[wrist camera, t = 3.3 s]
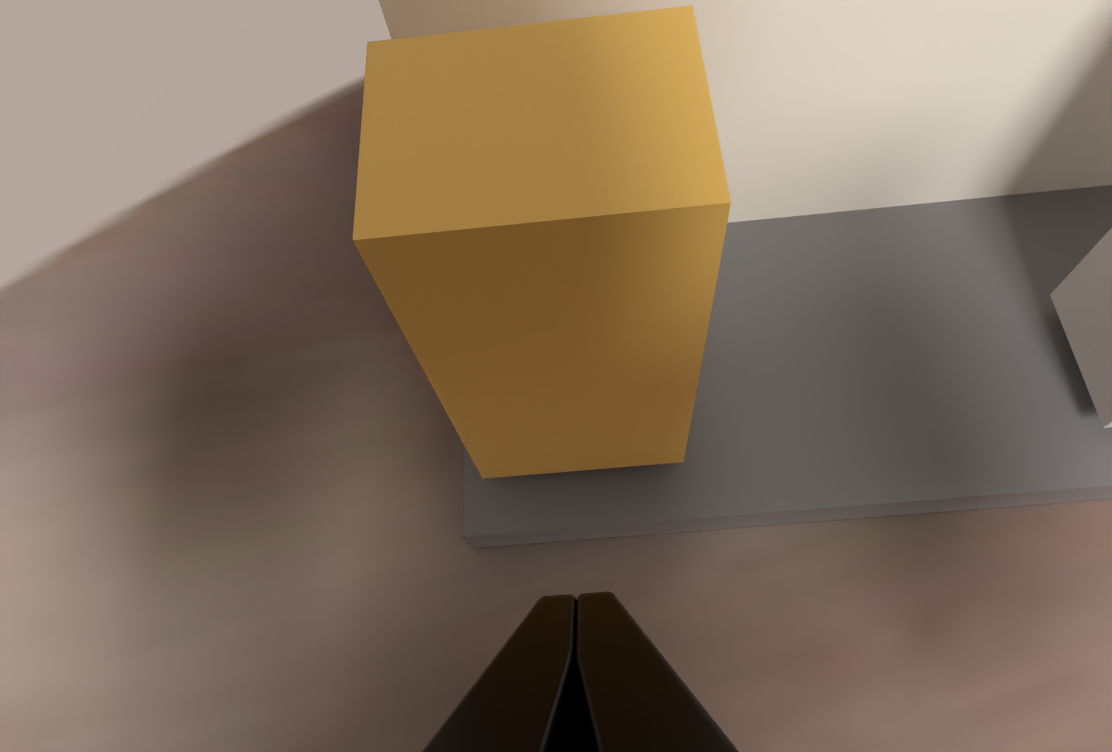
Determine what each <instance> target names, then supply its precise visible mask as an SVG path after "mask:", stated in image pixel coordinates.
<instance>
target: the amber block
mask: <svg viewBox="0 0 1112 752" xmlns="http://www.w3.org/2000/svg"><path fill="white" fill-rule="evenodd" d="M730 206H731V200H730V195H729V190H728V185H727V180H726V174H725V169H724V164H723V159H722V154H721V149H720V144H719V139H718V134H717V129H716V123H715V118H714V113H713V108H712V103H711V98H710V93H709V88H708V83H707V78H706V73H705V67H704V62H703V57H702V52H701V47H700V42H699V37H698V32H697V27H696V22H695V17H694V11H693V6H692V5H690V6H681V7H672V8H664V9H655V10H646V11H637V12H628V13H620V14H611V15H602V16H593V17H584V18H576V19H567V20H558V21H549V22H541V23H532V24H523V25H514V26H505V27H497V28H488V29H479V30H470V31H461V32H453V33H444V34H435V35H426V36H417V37H409V38H400V39H391V40H383V41H373V42H368V44H367V56H366V70H365V82H364V96H363V109H362V122H361V135H360V148H359V162H358V175H357V188H356V201H355V215H354V228H353V242H354V244H355V246H356V248H357V249H358V251H359V253H360V255H361V257H362V259H363V260H364V262H365V264H366V266H367V268H368V270H369V271H370V273H371V275H372V277H373V279H374V281H375V282H376V284H377V286H378V288H379V290H380V292H381V293H382V295H383V297H384V299H385V301H386V303H387V304H388V306H389V308H390V310H391V312H392V314H393V315H394V317H395V319H396V321H397V323H398V325H399V326H400V328H401V330H402V332H403V334H404V336H405V337H406V339H407V341H408V343H409V345H410V347H411V348H412V350H413V352H414V354H415V356H416V358H417V359H418V361H419V363H420V365H421V367H422V369H423V370H424V372H425V374H426V376H427V378H428V380H429V381H430V383H431V385H432V387H433V389H434V391H435V392H436V394H437V396H438V398H439V400H440V402H441V403H442V405H443V407H444V409H445V411H446V413H447V414H448V416H449V418H450V420H451V422H452V424H453V425H454V427H455V429H456V431H457V433H458V435H459V436H460V438H461V440H462V442H463V444H464V446H465V447H466V449H467V451H468V453H469V455H470V457H471V458H472V460H473V462H474V464H475V466H476V468H477V469H478V471H479V473H480V475H481V477H482V479H485V478H497V477H509V476H521V475H534V474H546V473H558V472H570V471H582V470H595V469H607V468H619V467H631V466H644V465H656V464H668V463H680V462H684V457H685V452H686V446H687V441H688V435H689V430H690V424H691V419H692V413H693V408H694V402H695V397H696V391H697V386H698V380H699V375H700V370H701V364H702V359H703V353H704V348H705V342H706V337H707V331H708V326H709V320H710V315H711V309H712V304H713V299H714V293H715V288H716V282H717V277H718V271H719V266H720V260H721V255H722V249H723V244H724V238H725V233H726V227H727V222H728V217H729V211H730Z"/></svg>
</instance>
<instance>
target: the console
mask: <svg viewBox="0 0 1112 752" xmlns="http://www.w3.org/2000/svg"><path fill="white" fill-rule="evenodd" d="M379 2H380V5H381V8H382V11H383V14H384V17H385V20H386V23H387V26H388V29H389V32H390V35H391V38H392V39H400V38H409V37H417V36H426V35H435V34H444V33H453V32H461V31H470V30H479V29H488V28H497V27H505V26H514V25H523V24H532V23H541V22H549V21H558V20H567V19H576V18H584V17H593V16H602V15H611V14H620V13H628V12H637V11H646V10H655V9H664V8H672V7H681V6H690V5H692V6H693V11H694V17H695V22H696V27H697V32H698V37H699V42H700V47H701V52H702V57H703V62H704V67H705V73H706V78H707V83H708V88H709V93H710V98H711V103H712V108H713V113H714V118H715V123H716V129H717V134H718V139H719V144H720V149H721V154H722V159H723V164H724V169H725V174H726V180H727V185H728V190H729V195H730V200H731V206H730V211H729V217H728V222H727V227H726V233H725V238H724V244H723V249H722V255H721V260H720V266H719V271H718V277H717V282H716V288H715V293H714V299H713V304H712V309H711V315H710V320H709V326H708V331H707V337H706V342H705V348H704V353H703V359H702V364H701V370H700V375H699V380H698V386H697V391H696V397H695V402H694V408H693V413H692V419H691V424H690V430H689V435H688V441H687V446H686V452H685V457H684V462H680V463H668V464H656V465H644V466H631V467H619V468H607V469H595V470H582V471H570V472H558V473H546V474H534V475H521V476H509V477H497V478H485V479H482V477H481V475H480V473H479V471H478V469H477V468H476V466H475V464H474V462H473V460H472V458H471V457H470V455H469V453H468V451H467V449H466V447H465V446H464V444H463V537H464V538H465V540H466V541H467V542H468V544H469V545H470V546H471V547H472V548H480V547H493V546H506V545H519V544H532V543H545V542H558V541H571V540H584V539H597V538H610V537H623V536H636V535H649V534H662V533H675V532H688V531H701V530H714V529H727V528H740V527H753V526H766V525H779V524H792V523H805V522H818V521H831V520H844V519H857V518H870V517H883V516H896V515H909V514H922V513H935V512H948V511H961V510H974V509H987V508H1000V507H1013V506H1026V505H1039V504H1052V503H1065V502H1078V501H1091V500H1104V499H1112V427H1108V428H1103V426H1102V424H1101V421H1100V419H1099V416H1098V414H1097V411H1096V409H1095V406H1094V404H1093V401H1092V399H1091V396H1090V394H1089V391H1088V389H1087V386H1086V384H1085V381H1084V379H1083V376H1082V374H1081V371H1080V369H1079V366H1078V364H1077V361H1076V359H1075V356H1074V354H1073V351H1072V349H1071V346H1070V344H1069V341H1068V339H1067V336H1066V334H1065V331H1064V329H1063V326H1062V324H1061V321H1060V319H1059V316H1058V314H1057V311H1056V309H1055V306H1054V304H1053V301H1052V299H1051V296H1050V294H1051V293H1052V292H1053V291H1054V290H1055V289H1056V288H1057V287H1058V286H1059V284H1060V283H1061V282H1062V281H1063V280H1064V279H1065V278H1066V277H1067V276H1068V275H1069V274H1070V272H1071V271H1072V270H1073V269H1074V268H1075V267H1076V266H1077V265H1078V264H1079V263H1080V262H1081V261H1082V259H1083V258H1084V257H1085V256H1086V255H1087V254H1088V253H1089V252H1090V251H1091V250H1092V249H1093V247H1094V246H1095V245H1096V244H1097V243H1098V242H1099V241H1100V240H1101V239H1102V238H1103V237H1104V236H1105V234H1106V233H1107V232H1108V231H1109V230H1110V229H1111V228H1112V0H379Z"/></svg>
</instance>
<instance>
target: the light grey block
mask: <svg viewBox="0 0 1112 752" xmlns="http://www.w3.org/2000/svg"><path fill="white" fill-rule="evenodd" d="M1050 296H1051V299H1052V301H1053V304H1054V306H1055V309H1056V311H1057V314H1058V316H1059V319H1060V321H1061V324H1062V326H1063V329H1064V331H1065V334H1066V336H1067V339H1068V341H1069V344H1070V346H1071V349H1072V351H1073V354H1074V356H1075V359H1076V361H1077V364H1078V366H1079V369H1080V371H1081V374H1082V376H1083V379H1084V381H1085V384H1086V386H1087V389H1088V391H1089V394H1090V396H1091V399H1092V401H1093V404H1094V406H1095V409H1096V411H1097V414H1098V416H1099V419H1100V421H1101V424H1102V426H1103V428H1108V427H1112V228H1111V229H1110V230H1109V231H1108V232H1107V233H1106V234H1105V236H1104V237H1103V238H1102V239H1101V240H1100V241H1099V242H1098V243H1097V244H1096V245H1095V246H1094V247H1093V249H1092V250H1091V251H1090V252H1089V253H1088V254H1087V255H1086V256H1085V257H1084V258H1083V259H1082V261H1081V262H1080V263H1079V264H1078V265H1077V266H1076V267H1075V268H1074V269H1073V270H1072V271H1071V272H1070V274H1069V275H1068V276H1067V277H1066V278H1065V279H1064V280H1063V281H1062V282H1061V283H1060V284H1059V286H1058V287H1057V288H1056V289H1055V290H1054V291H1053V292H1052V293H1051V294H1050Z"/></svg>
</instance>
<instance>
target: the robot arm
mask: <svg viewBox="0 0 1112 752" xmlns="http://www.w3.org/2000/svg"><path fill="white" fill-rule="evenodd" d="M422 752H739V751H738V750H737V749H736V748H735V746H734V745H733V744H732V743H731V741H730V740H729V739H728V738H727V736H726V735H725V734H724V733H723V731H722V730H721V729H720V727H719V726H718V725H717V724H716V722H715V721H714V720H713V719H712V717H711V716H710V715H709V714H708V712H707V711H706V710H705V709H704V707H703V706H702V705H701V704H700V702H699V701H698V700H697V698H696V697H695V696H694V695H693V693H692V692H691V691H690V690H689V688H688V687H687V686H686V685H685V683H684V682H683V681H682V680H681V678H680V677H679V676H678V675H677V673H676V672H675V671H674V669H673V668H672V667H671V666H670V664H669V663H668V662H667V661H666V659H665V658H664V657H663V656H662V654H661V653H660V652H659V651H658V649H657V648H656V647H655V646H654V644H653V643H652V642H651V640H650V639H649V638H648V637H647V635H646V634H645V633H644V632H643V630H642V629H641V628H640V627H639V625H638V624H637V623H636V622H635V620H634V619H633V618H632V617H631V615H630V614H629V613H628V611H627V610H626V609H625V608H624V606H623V605H622V604H621V603H620V601H619V600H618V599H617V598H616V596H615V595H614V594H613V593H611V592H597V593H584V594H581V595H579V596H578V598H577V600H576V598H575V596H573V595H556V596H544V597H542V598H540V599H539V600H538V602H537V603H536V604H535V605H534V607H533V608H532V609H531V611H530V612H529V613H528V615H527V616H526V617H525V618H524V620H523V621H522V622H521V624H520V625H519V626H518V628H517V629H516V630H515V631H514V633H513V634H512V635H511V637H510V638H509V639H508V640H507V642H506V643H505V644H504V646H503V647H502V648H501V650H500V651H499V652H498V653H497V655H496V656H495V657H494V659H493V660H492V661H491V663H490V664H489V665H488V666H487V668H486V669H485V670H484V672H483V673H482V674H481V676H480V677H479V678H478V679H477V681H476V682H475V683H474V685H473V686H472V687H471V689H470V690H469V691H468V692H467V694H466V695H465V696H464V698H463V699H462V700H461V702H460V703H459V704H458V705H457V707H456V708H455V709H454V711H453V712H452V713H451V715H450V716H449V717H448V718H447V720H446V721H445V722H444V724H443V725H442V726H441V728H440V729H439V730H438V731H437V733H436V734H435V735H434V737H433V738H432V739H431V741H430V742H429V743H428V744H427V746H426V747H425V748H424V750H423V751H422Z"/></svg>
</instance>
